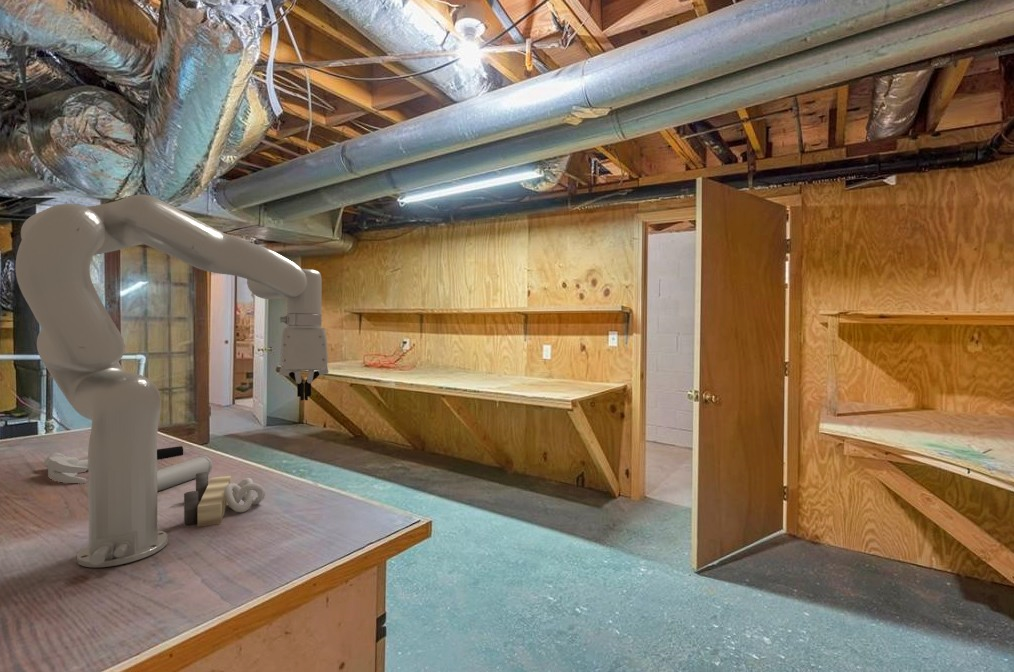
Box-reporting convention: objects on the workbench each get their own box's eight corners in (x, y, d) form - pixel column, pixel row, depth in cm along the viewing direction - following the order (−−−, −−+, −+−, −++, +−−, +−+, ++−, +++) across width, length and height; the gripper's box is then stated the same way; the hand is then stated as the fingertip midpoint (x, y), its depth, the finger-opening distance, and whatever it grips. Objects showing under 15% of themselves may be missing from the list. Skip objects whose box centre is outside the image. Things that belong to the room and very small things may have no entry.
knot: (216, 507, 106) (216, 481, 106) (254, 498, 112) (254, 473, 112) (228, 517, 101) (228, 489, 101) (268, 506, 107) (268, 480, 107)
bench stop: (220, 523, 98) (220, 494, 98) (181, 529, 95) (181, 498, 95) (230, 492, 116) (230, 467, 116) (198, 496, 113) (198, 470, 113)
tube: (121, 491, 105) (214, 459, 130) (102, 482, 106) (198, 452, 131) (115, 513, 106) (209, 478, 130) (97, 504, 107) (194, 470, 131)
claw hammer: (170, 437, 155) (42, 452, 131) (198, 449, 142) (60, 468, 118) (170, 454, 155) (41, 472, 131) (197, 467, 141) (59, 490, 118)
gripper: (268, 321, 108) (268, 403, 108) (339, 322, 114) (338, 400, 114) (270, 321, 115) (269, 399, 115) (336, 322, 121) (336, 396, 121)
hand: (304, 399), depth 115 cm, fingers closed
